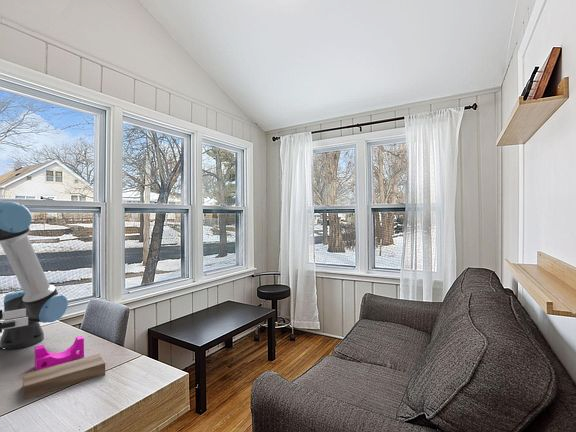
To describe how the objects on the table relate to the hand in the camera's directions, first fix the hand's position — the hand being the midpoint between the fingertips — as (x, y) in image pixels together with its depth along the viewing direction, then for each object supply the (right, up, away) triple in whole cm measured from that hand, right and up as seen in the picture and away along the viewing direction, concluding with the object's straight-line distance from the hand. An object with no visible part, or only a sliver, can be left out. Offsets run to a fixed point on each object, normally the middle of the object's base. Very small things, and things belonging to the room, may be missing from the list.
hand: (27, 316), depth 113 cm
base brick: (+18, -20, -6) cm, 27 cm away
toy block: (+7, -20, +8) cm, 23 cm away
